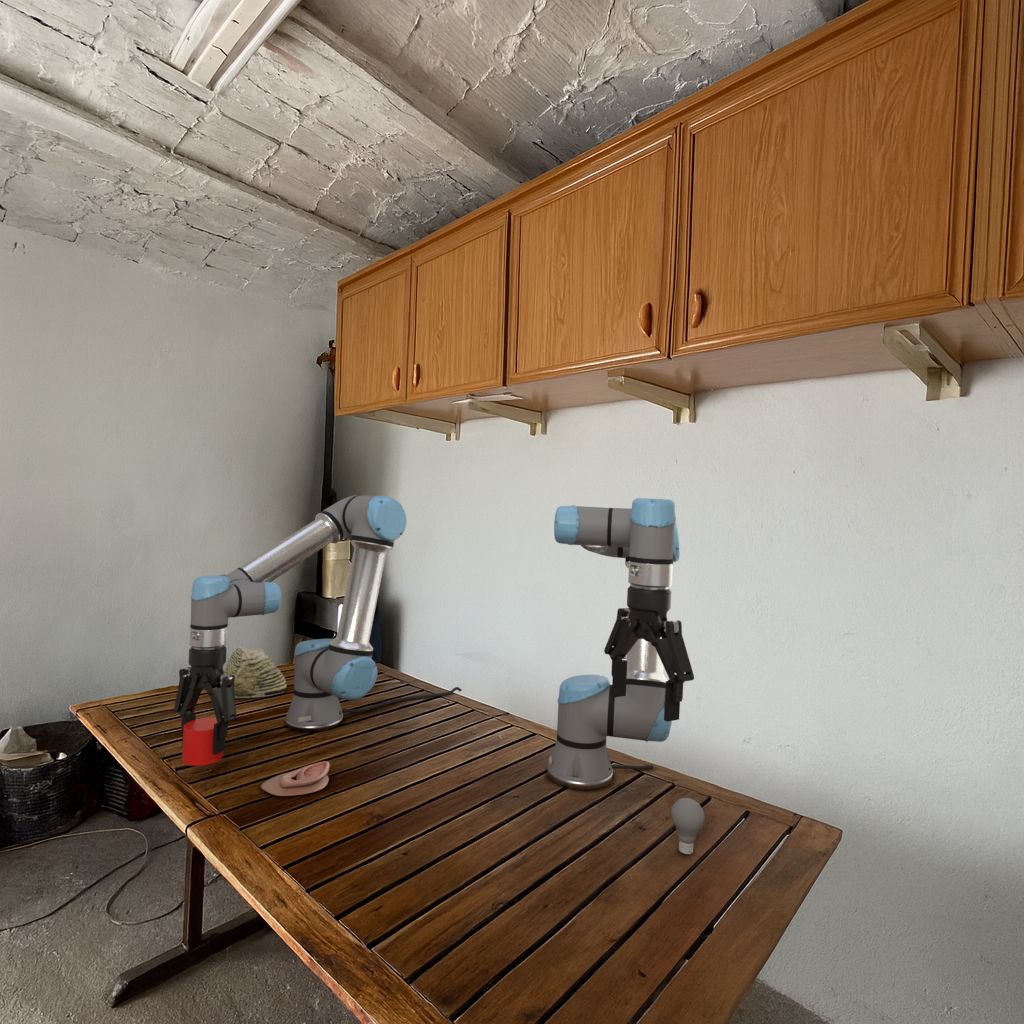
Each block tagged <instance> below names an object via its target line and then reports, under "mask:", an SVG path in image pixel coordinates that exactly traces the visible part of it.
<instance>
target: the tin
mask: <svg viewBox="0 0 1024 1024" xmlns="http://www.w3.org/2000/svg"><path fill="white" fill-rule="evenodd" d="M215 723H217V720H216V717H214V718H213V717H203V718H196V720H193V721H190V722H187V723H186V724H185V725H184V729H183V730H182V733H183V747H182V751H181V752H182V753H181V762H182V763H183V764H184V765H186V766H193V767H197V766H207V765H211V764H214V763H217V762H219V761H221V760H222V758H223V756H224V751H223V752H220V753H218V754H216V755H214V754H213V735H214V724H215Z"/></svg>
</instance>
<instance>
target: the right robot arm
mask: <svg viewBox="0 0 1024 1024" xmlns="http://www.w3.org/2000/svg"><path fill="white" fill-rule="evenodd" d="M553 522H554V523H553V535H554V540H555V542H556V543H558V544H560V545H561V544H562V545H568V546H580V547H581V548H582V549H584V550H586V551H587V552H591V553H594V554H597V555H601V556H605V557H608V558H617V559H625V560H624V561H625V562H624V565H625V567H626V568H627V569H628V576H627V580H628V581H627V583H629V586H628V587H627V591H626V592H627V593H626V606H627V607H619V608H617V613H616V619H615V621H614V625H613V627H612V630H611V632H610V635H609V637H608V639H607V642H606V644H605V647H604V649H603V652H604V654H605V655H607V656H609V659H610V660H611V677H612V680H611V681H612V684H611V682H610V679H609V678H608V677H607V676H605V675H600V674H580V675H573V676H570V677H567V678H566V679H564V680H563V681H562V682H561V683H560V685H559V690H558V698H557V703H558V704H557V705H558V707H557V724H556V725H557V728H556V741H555V746H554V747H553V750H552V753H551V754H550V755H549V758H548V763H547V777H548V778H549V779H550V780H551V781H552V782H553V783H555V784H556V785H559V786H562V787H564V788H567V789H571V790H578V791H595V790H601V789H603V788H606V787H608V786H609V785H611V784H612V782H613V778H614V777H613V776H614V775H613V773H614V770H615V769H617V770H619V769H620V770H622V769H623V770H637V771H638V770H651V769H654V765H653V764H645V765H632V764H631V765H628V764H612V763H611V759H610V755H609V752H608V748H607V737H612V738H619V739H627V740H634V741H644V742H647V743H648V742H656V743H657V742H658V743H662V742H665V741H666V740H667V739H668V738H669V736H670V732H671V729H672V723H673V721H677V720H678V721H679V720H680V712H681V711H680V710H681V709H680V708H681V703H682V701H683V699H684V698H683V697H684V683H685V682H691V681H694V680H695V674H694V671H693V668H692V665H691V661H690V657H689V654H688V651H687V650H688V649H687V647H686V643H685V640H684V637H683V627H682V625H683V624H682V621H681V620H679V619H678V620H677V619H676V620H669V619H668V612H669V611H670V610H671V608H672V590H671V589H670V588H669V587H671V586H673V569H674V563H676V562H679V560H680V558H681V557H680V556H681V555H680V554H681V553H680V552H681V551H680V535H679V528H678V523H677V517H676V503H675V501H674V500H673V499H668V498H649V497H648V498H646V497H645V498H643V497H637V498H635V499H633V500H632V503H631V508H628V507H627V508H625V507H601V506H599V507H598V506H580V505H579V506H577V505H576V504H575V505H574V504H573V505H560V506H558V507H557V509H556V510H555V512H554V521H553ZM664 670H665V672H666V674H667V677H668V679H667V678H666V676H665V675H664Z"/></svg>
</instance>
